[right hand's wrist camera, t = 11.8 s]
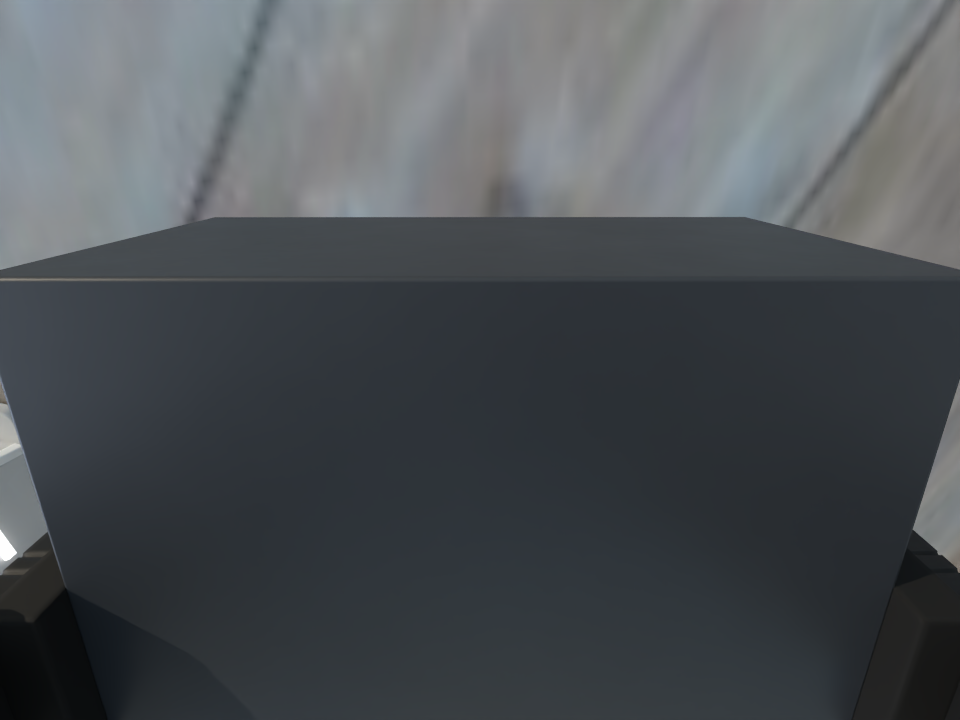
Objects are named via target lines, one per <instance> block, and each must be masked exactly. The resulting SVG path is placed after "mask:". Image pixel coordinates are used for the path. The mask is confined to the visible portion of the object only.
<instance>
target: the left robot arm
mask: <svg viewBox="0 0 960 720" xmlns="http://www.w3.org/2000/svg"><path fill="white" fill-rule="evenodd" d="M47 532H48V531H47V528H46V524H45V521H44V518H43V515H42V512H41V509H40V505H39V502H38V499H37V496H36V493H35V490H34V486H33V483H32V480H31V477H30V474H29V471H28V467H27V464H26V461H25V458H24V455H23V452H22V448H21V445H20V442H19V439H18V436H17V433H16V429H15V426H14V423H13V420H12V417H11V414H10V410H9V407H8V404H3V403H0V575H2V574H3V570H4V569H5V568H7V567H8V566H9V565H10V564H11V563H12V562H13V561H15V560H16V559H17V558H18V557H22V556H23V553H24V552H25V551H26V550H27V549H28V548H29V547H31V546H32V545H33V544H34V543H35V542H36V541H37V540H39V539H40V538H41V537H42V536H43V535H44V534H45V533H47Z"/></svg>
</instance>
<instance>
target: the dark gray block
mask: <svg viewBox="0 0 960 720" xmlns="http://www.w3.org/2000/svg"><path fill="white" fill-rule="evenodd" d="M959 380H960V270H958V269H954V268H950V267H946V266H942V265H938V264H934V263H930V262H926V261H922V260H918V259H913V258H909V257H905V256H901V255H897V254H893V253H889V252H885V251H881V250H877V249H873V248H869V247H864V246H860V245H856V244H852V243H848V242H844V241H840V240H836V239H832V238H828V237H824V236H819V235H815V234H811V233H807V232H803V231H799V230H795V229H791V228H787V227H783V226H779V225H775V224H770V223H766V222H762V221H758V220H754V219H750V218H746V217H215V218H211V219H207V220H203V221H198V222H194V223H190V224H186V225H182V226H178V227H174V228H170V229H166V230H162V231H158V232H154V233H150V234H145V235H141V236H137V237H133V238H129V239H125V240H121V241H117V242H113V243H109V244H105V245H101V246H96V247H92V248H88V249H84V250H80V251H76V252H72V253H68V254H64V255H60V256H56V257H52V258H48V259H43V260H39V261H35V262H31V263H27V264H23V265H19V266H15V267H11V268H7V269H3V270H0V382H1V385H2V388H3V391H4V395H5V398H6V401H7V404H8V407H9V410H10V414H11V417H12V420H13V423H14V426H15V429H16V433H17V436H18V439H19V442H20V445H21V448H22V452H23V455H24V458H25V461H26V464H27V467H28V471H29V474H30V477H31V480H32V483H33V486H34V490H35V493H36V496H37V499H38V502H39V505H40V509H41V512H42V515H43V518H44V521H45V524H46V528H47V531H48V534H49V537H50V540H51V543H52V547H53V550H54V553H55V556H56V559H57V562H58V566H59V569H60V572H61V575H62V578H63V581H64V585H65V588H66V590H67V593H68V596H69V599H70V602H71V605H72V609H73V612H74V615H75V618H76V621H77V625H78V628H79V631H80V634H81V637H82V640H83V644H84V647H85V650H86V653H87V656H88V659H89V663H90V666H91V669H92V672H93V675H94V678H95V682H96V685H97V688H98V691H99V694H100V698H101V701H102V704H103V707H104V710H105V713H106V717H107V720H852V719H853V716H854V713H855V709H856V706H857V703H858V700H859V697H860V693H861V690H862V687H863V684H864V681H865V678H866V674H867V671H868V668H869V665H870V662H871V658H872V655H873V652H874V649H875V646H876V643H877V639H878V636H879V633H880V630H881V627H882V623H883V620H884V617H885V614H886V611H887V608H888V604H889V601H890V598H891V595H892V592H893V588H894V587H895V583H896V580H897V577H898V574H899V571H900V568H901V564H902V561H903V558H904V555H905V552H906V548H907V545H908V542H909V539H910V536H911V532H912V529H913V526H914V523H915V520H916V517H917V513H918V510H919V507H920V504H921V501H922V497H923V494H924V491H925V488H926V485H927V482H928V478H929V475H930V472H931V469H932V466H933V462H934V459H935V456H936V453H937V450H938V447H939V443H940V440H941V437H942V434H943V431H944V427H945V424H946V421H947V418H948V415H949V412H950V408H951V405H952V402H953V399H954V396H955V392H956V389H957V386H958V383H959Z"/></svg>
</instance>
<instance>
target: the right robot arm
mask: <svg viewBox="0 0 960 720" xmlns="http://www.w3.org/2000/svg"><path fill="white" fill-rule="evenodd" d="M0 720H107V717H106V713H105V710H104V707H103V704H102V701H101V698H100V694H99V691H98V688H97V685H96V682H95V678H94V675H93V672H92V669H91V666H90V663H89V659H88V656H87V653H86V650H85V647H84V644H83V640H82V637H81V634H80V631H79V628H78V625H77V621H76V618H75V615H74V612H73V609H72V605H71V602H70V599H69V596H68V593H67V590H66V588H65V585H64V581H63V578H62V575H61V572H60V569H59V566H58V562H57V559H56V556H55V553H54V550H53V547H52V543H51V540H50V537H49V534H48V532H47V533H45V534H44V535H43V536H42V537H41V538H40V539H39V540H37V541H36V542H35V543H34V544H33V545H32V546H31V547H29V548H28V549H27V550H26V551H25V552H24V553H23V556H22V557H18V558H17V559H16V560H15V561H13V562H12V563H11V564H10V565H9V566H8V567H7V568H5V569H4V570H3V574H2V575H0ZM852 720H960V573H958V571H957V568H956V567H955V566H954V565H953V564H952V563H950V562H949V561H948V560H947V559H946V558H945V557H944V556H942V555H938V553H937V550H935V549H934V548H933V547H932V546H931V545H930V544H929V543H927V542H926V541H925V540H924V539H923V538H922V537H921V536H919V535H918V534H917V533H916V532H915V531H914V530H912V532H911V536H910V539H909V542H908V545H907V548H906V552H905V555H904V558H903V561H902V564H901V568H900V571H899V574H898V577H897V580H896V583H895V587H894V588H893V592H892V595H891V598H890V601H889V604H888V608H887V611H886V614H885V617H884V620H883V623H882V627H881V630H880V633H879V636H878V639H877V643H876V646H875V649H874V652H873V655H872V658H871V662H870V665H869V668H868V671H867V674H866V678H865V681H864V684H863V687H862V690H861V693H860V697H859V700H858V703H857V706H856V709H855V713H854V716H853V719H852Z"/></svg>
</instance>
